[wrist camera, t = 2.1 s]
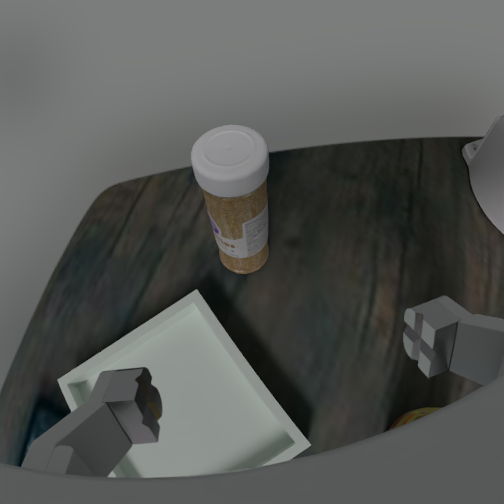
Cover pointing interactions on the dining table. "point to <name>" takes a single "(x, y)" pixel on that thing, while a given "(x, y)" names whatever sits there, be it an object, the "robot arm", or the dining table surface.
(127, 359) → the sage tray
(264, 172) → the sprinkles bottle
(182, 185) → the dining table surface
